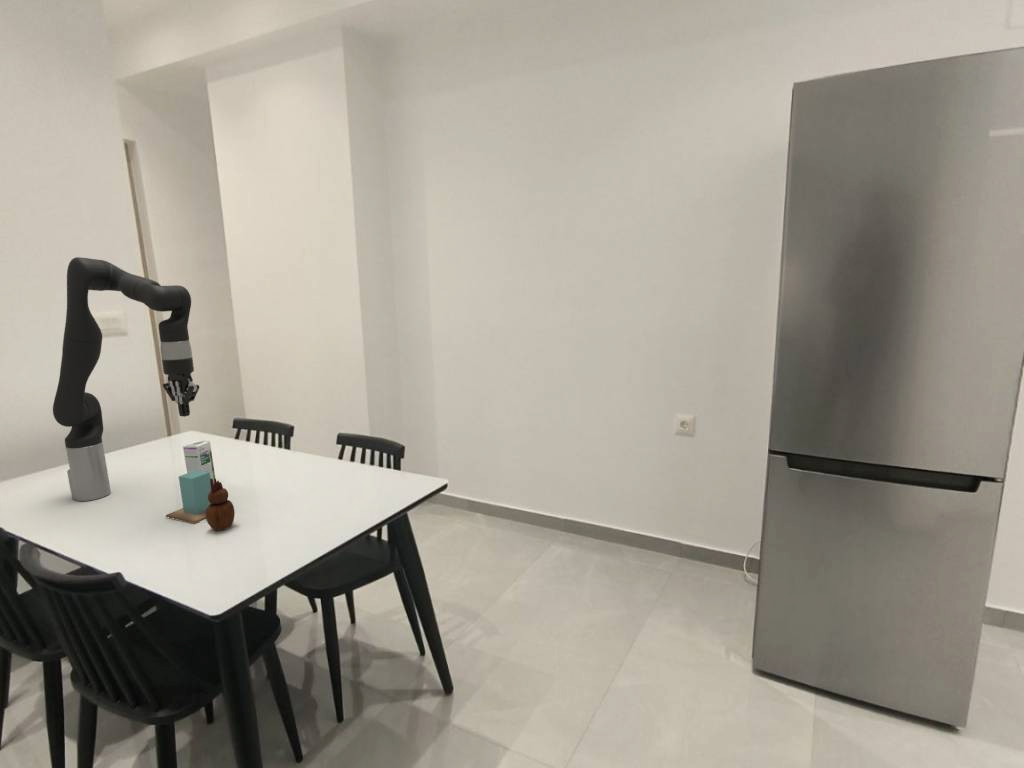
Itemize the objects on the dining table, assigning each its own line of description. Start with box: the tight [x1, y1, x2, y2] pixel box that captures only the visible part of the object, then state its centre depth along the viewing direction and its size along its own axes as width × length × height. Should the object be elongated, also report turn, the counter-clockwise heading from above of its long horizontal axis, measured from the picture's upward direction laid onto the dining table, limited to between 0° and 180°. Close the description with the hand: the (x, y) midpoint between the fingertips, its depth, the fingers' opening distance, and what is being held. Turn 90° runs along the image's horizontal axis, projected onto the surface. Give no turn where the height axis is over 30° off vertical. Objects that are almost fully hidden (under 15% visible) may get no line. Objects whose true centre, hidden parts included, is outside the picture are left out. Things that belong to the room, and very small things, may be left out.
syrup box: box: [182, 440, 216, 483], centre depth 185 cm, size 6×6×14 cm
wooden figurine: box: [205, 477, 235, 532], centre depth 152 cm, size 7×6×15 cm
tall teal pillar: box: [178, 470, 211, 515], centre depth 163 cm, size 6×6×11 cm
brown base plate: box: [165, 507, 207, 525], centre depth 163 cm, size 12×12×8 cm
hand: (184, 415), depth 162 cm, fingers closed
